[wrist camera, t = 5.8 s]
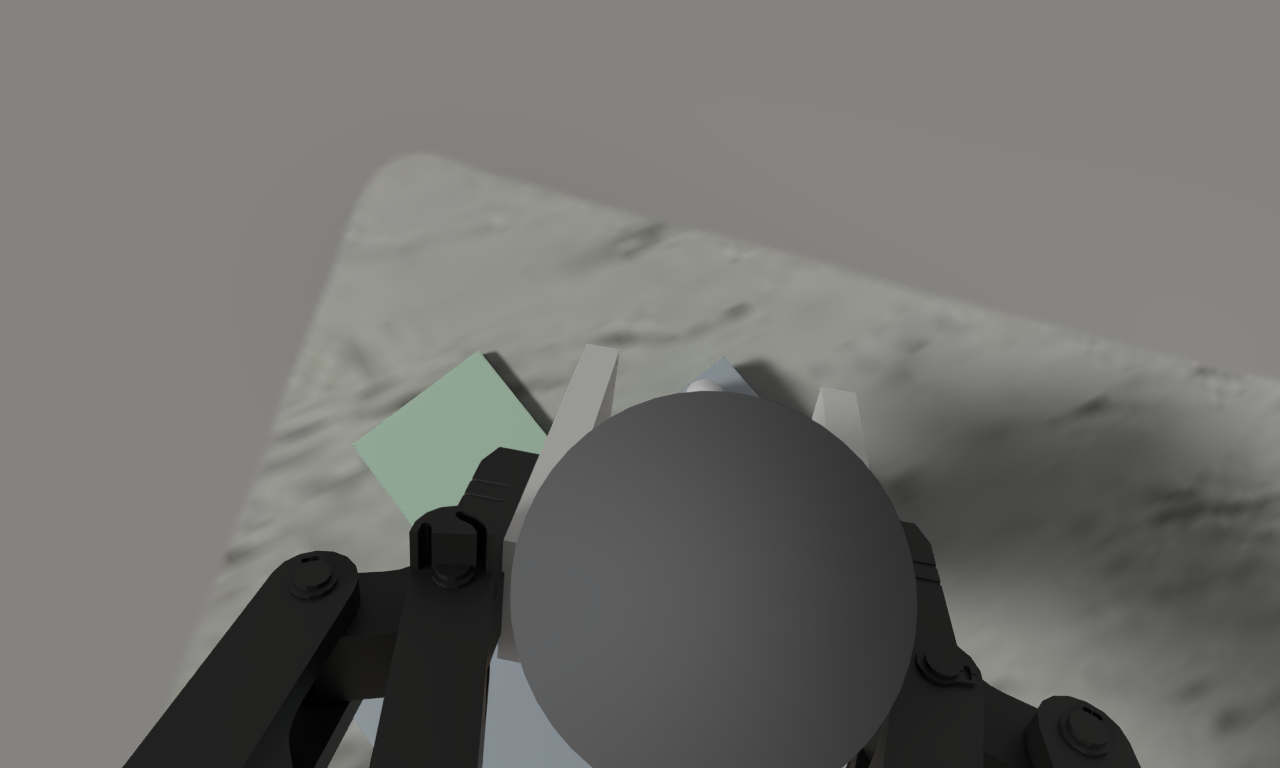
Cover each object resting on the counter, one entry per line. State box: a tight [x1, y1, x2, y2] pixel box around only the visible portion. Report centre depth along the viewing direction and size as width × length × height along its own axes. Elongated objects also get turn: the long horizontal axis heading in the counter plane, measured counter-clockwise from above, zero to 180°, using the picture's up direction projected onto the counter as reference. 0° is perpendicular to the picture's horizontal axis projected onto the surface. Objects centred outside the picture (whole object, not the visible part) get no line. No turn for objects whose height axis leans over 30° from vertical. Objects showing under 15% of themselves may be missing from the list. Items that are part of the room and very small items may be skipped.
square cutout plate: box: [354, 357, 759, 768], centre depth 28 cm, size 10×18×4 cm, turn 129°
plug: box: [510, 391, 917, 768], centre depth 15 cm, size 6×6×13 cm
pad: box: [353, 350, 547, 526], centre depth 31 cm, size 6×6×1 cm
